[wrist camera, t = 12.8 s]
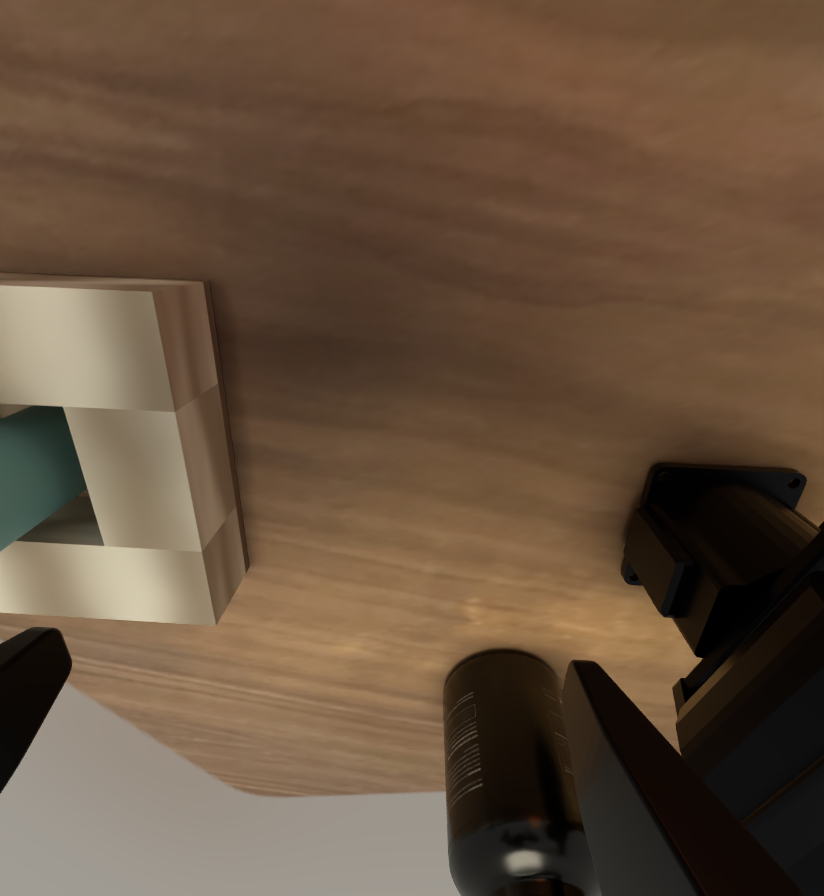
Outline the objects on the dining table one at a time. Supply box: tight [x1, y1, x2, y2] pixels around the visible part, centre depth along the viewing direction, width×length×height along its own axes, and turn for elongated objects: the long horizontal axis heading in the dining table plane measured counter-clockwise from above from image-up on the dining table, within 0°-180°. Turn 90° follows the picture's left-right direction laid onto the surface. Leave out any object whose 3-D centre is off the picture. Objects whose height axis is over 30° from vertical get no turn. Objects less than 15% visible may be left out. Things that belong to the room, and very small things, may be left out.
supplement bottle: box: [443, 652, 602, 896], centre depth 21 cm, size 7×7×12 cm
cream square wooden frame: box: [0, 272, 249, 626], centre depth 19 cm, size 14×14×4 cm
